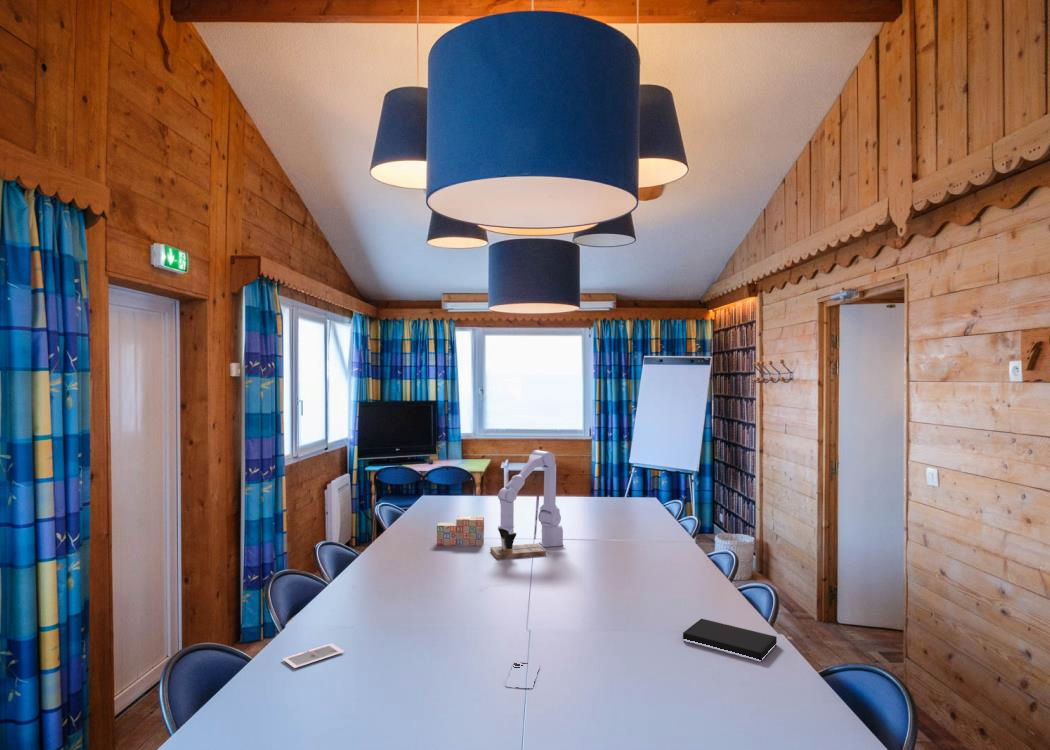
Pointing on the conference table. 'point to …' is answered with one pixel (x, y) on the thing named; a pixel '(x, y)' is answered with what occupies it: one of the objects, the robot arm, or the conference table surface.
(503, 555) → the fader console
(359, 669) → the conference table surface
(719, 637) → the external hard drive
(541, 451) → the robot arm
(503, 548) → the fader tab
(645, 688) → the conference table surface
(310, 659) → the touchpad
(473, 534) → the stack of blocks
